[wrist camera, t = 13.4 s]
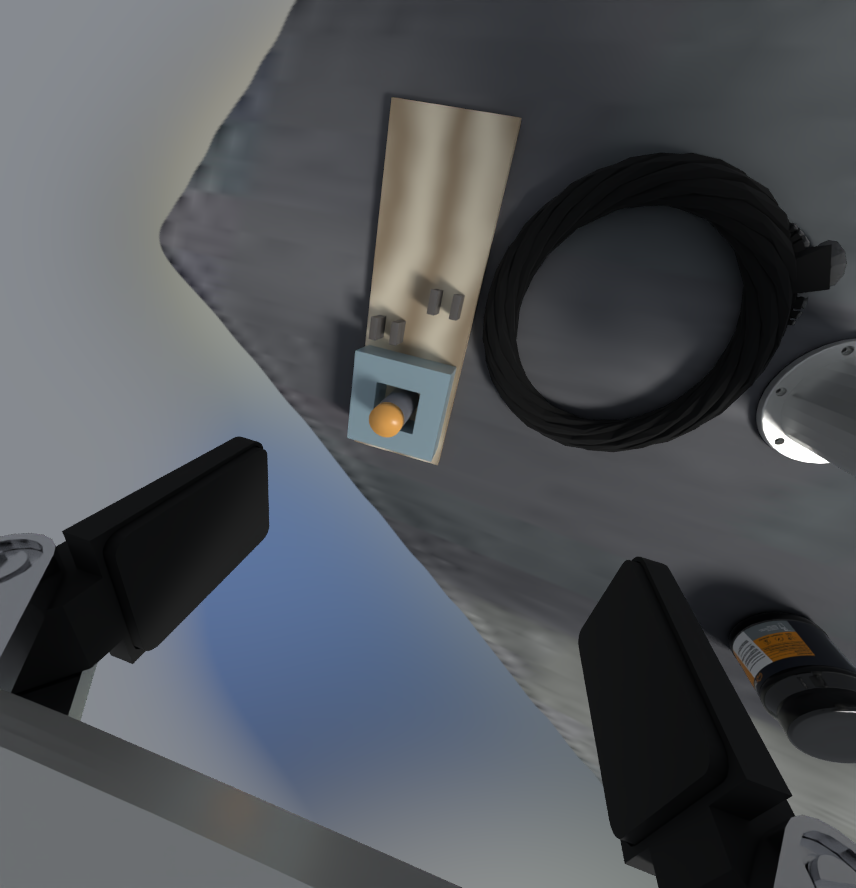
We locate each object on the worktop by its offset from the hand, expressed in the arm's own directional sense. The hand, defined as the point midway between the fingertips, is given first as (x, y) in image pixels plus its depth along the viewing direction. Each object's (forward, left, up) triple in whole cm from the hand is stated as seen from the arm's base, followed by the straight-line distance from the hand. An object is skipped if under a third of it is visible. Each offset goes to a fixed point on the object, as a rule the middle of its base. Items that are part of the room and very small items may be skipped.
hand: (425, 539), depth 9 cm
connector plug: (+9, +9, -33) cm, 35 cm away
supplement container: (-47, +29, -34) cm, 65 cm away
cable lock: (-13, -5, -35) cm, 38 cm away
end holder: (+9, +9, -33) cm, 35 cm away
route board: (+9, -1, -34) cm, 35 cm away
